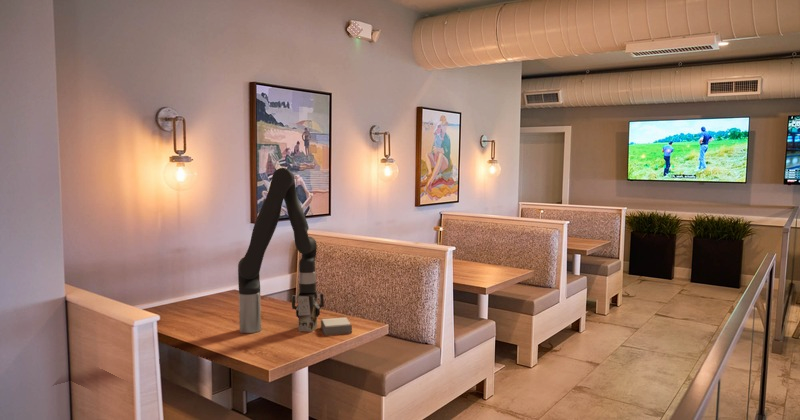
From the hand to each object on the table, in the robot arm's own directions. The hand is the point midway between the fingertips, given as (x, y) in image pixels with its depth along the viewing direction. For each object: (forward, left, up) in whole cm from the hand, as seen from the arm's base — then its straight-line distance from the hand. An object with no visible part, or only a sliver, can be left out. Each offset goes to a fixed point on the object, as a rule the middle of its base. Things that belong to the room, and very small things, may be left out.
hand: (308, 317), depth 254 cm
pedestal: (+12, -6, -5) cm, 14 cm away
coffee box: (0, 0, -6) cm, 6 cm away
